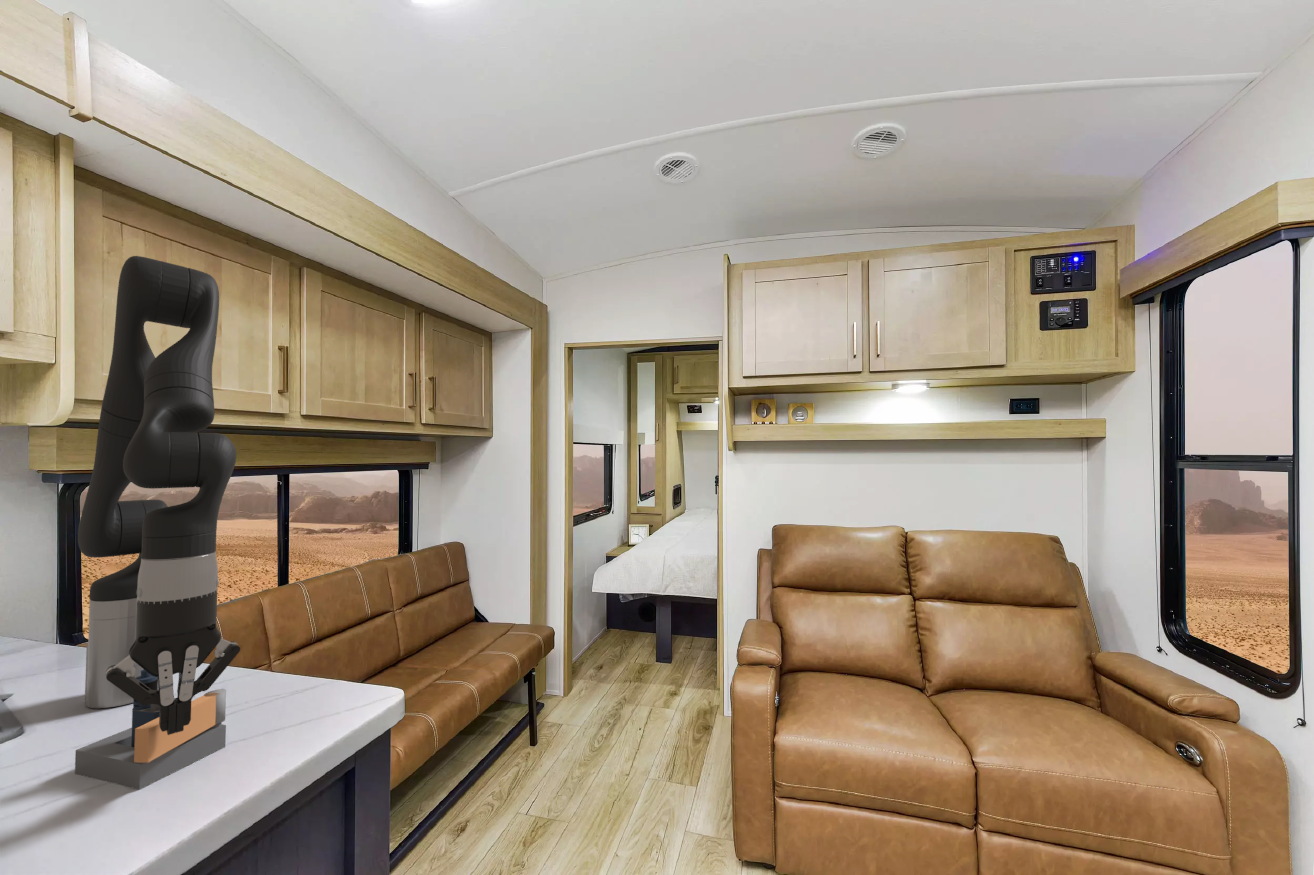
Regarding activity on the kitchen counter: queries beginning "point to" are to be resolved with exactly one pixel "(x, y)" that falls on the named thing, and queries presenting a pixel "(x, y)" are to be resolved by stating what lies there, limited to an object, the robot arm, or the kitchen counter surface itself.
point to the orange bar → (203, 717)
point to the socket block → (117, 762)
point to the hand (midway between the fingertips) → (174, 730)
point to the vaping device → (142, 712)
